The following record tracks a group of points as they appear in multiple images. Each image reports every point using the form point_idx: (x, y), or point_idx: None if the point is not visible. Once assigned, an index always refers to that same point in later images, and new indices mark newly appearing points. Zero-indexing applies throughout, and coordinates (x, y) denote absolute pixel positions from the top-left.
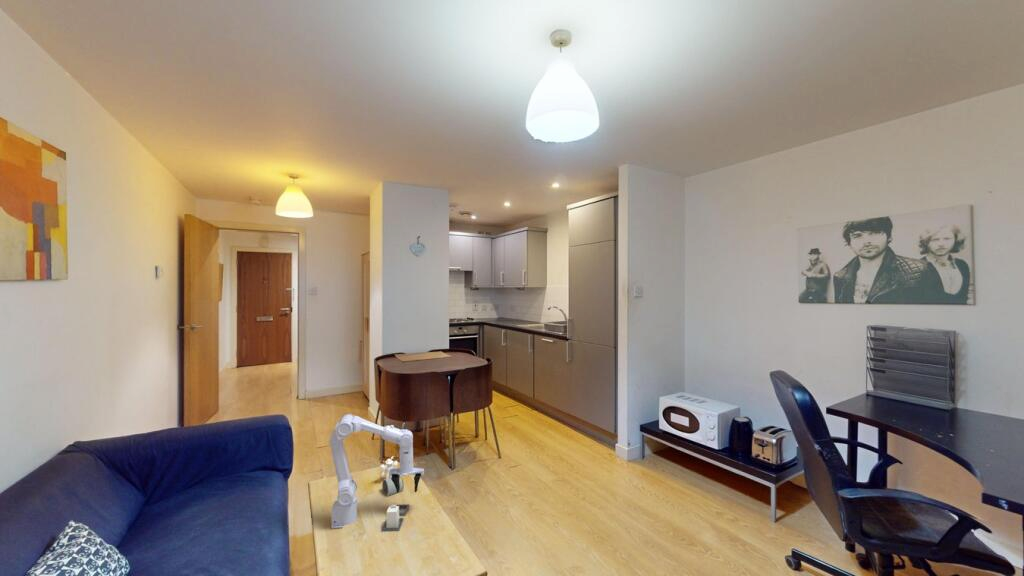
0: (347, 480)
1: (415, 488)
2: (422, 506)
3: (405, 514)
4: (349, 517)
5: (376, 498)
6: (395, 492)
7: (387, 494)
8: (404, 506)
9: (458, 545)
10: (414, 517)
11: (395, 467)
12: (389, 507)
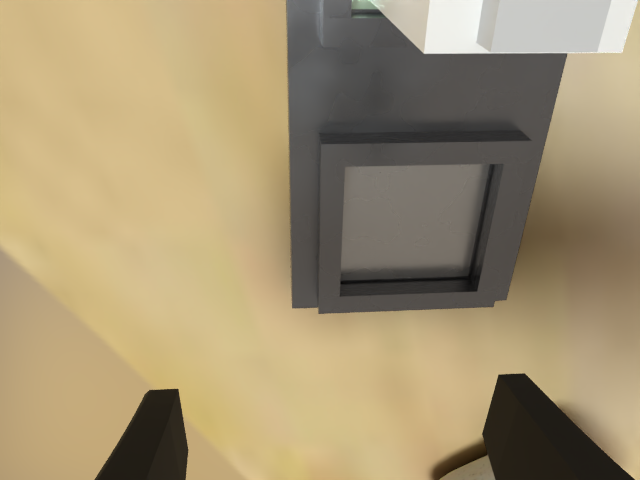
0: None
1: (135, 448)
2: (186, 317)
3: (319, 148)
4: None
5: (633, 408)
6: (487, 464)
7: None
8: (364, 288)
9: None
10: (211, 139)
11: None
12: (618, 13)
